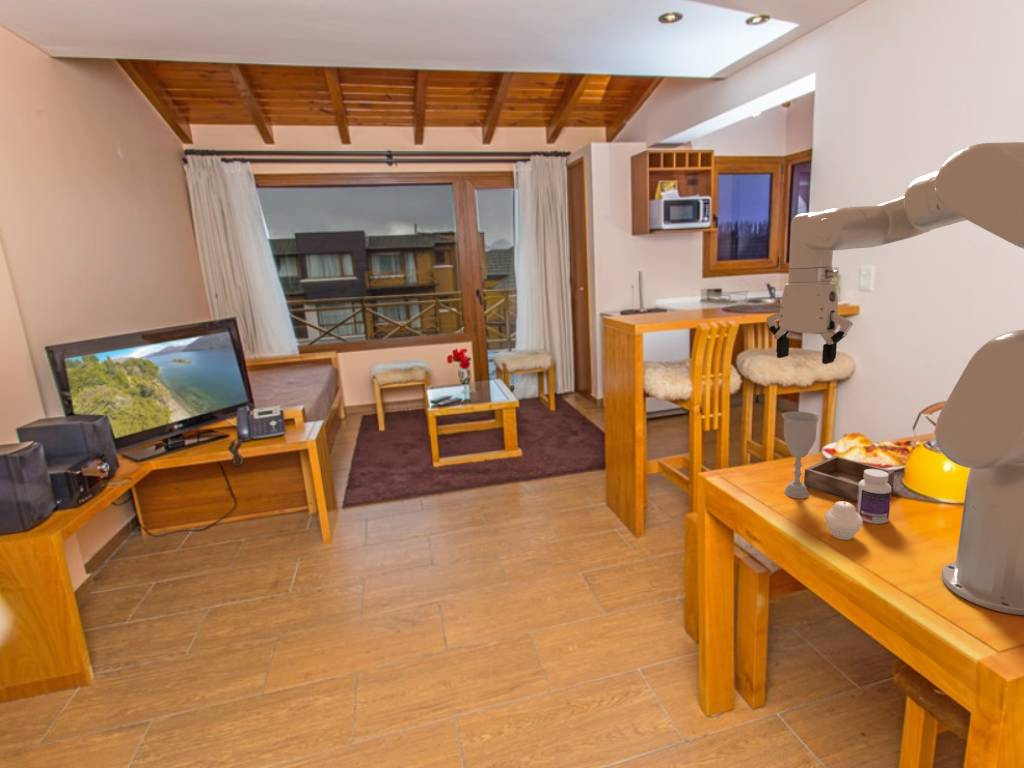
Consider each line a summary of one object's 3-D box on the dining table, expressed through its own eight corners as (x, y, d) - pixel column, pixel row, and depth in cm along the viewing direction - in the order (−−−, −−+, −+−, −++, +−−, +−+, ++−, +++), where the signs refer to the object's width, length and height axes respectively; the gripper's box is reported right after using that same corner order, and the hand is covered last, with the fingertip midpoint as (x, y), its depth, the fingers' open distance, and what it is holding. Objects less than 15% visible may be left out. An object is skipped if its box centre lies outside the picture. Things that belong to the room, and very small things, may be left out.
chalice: (772, 493, 119) (776, 416, 115) (785, 484, 123) (789, 409, 119) (807, 503, 114) (812, 423, 109) (820, 493, 118) (825, 415, 114)
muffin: (842, 547, 97) (845, 512, 95) (815, 531, 103) (817, 498, 101) (869, 540, 98) (872, 505, 97) (841, 525, 104) (844, 492, 103)
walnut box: (892, 488, 117) (894, 471, 116) (863, 505, 111) (864, 487, 110) (834, 471, 128) (835, 455, 127) (803, 486, 122) (804, 469, 121)
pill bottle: (895, 524, 103) (899, 477, 101) (866, 525, 103) (870, 479, 101) (876, 511, 108) (881, 466, 106) (850, 512, 109) (853, 468, 106)
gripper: (865, 274, 102) (858, 362, 106) (780, 275, 116) (776, 352, 120) (843, 277, 98) (837, 368, 102) (758, 278, 112) (755, 357, 116)
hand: (804, 359), depth 111 cm, fingers open, 9 cm apart
